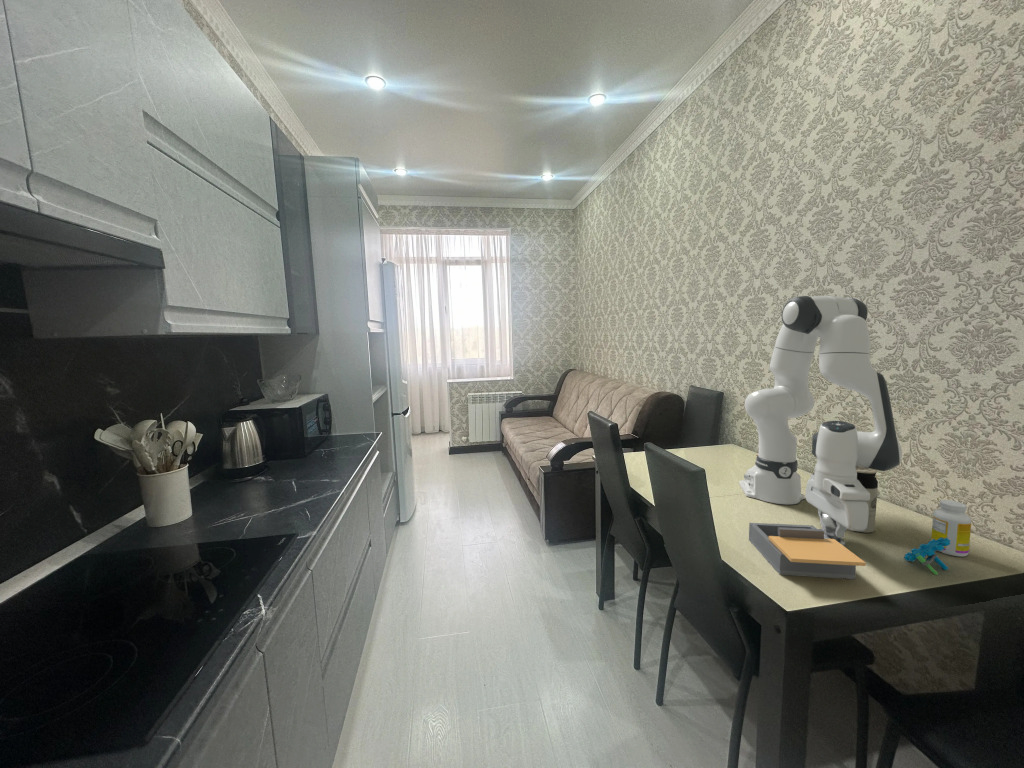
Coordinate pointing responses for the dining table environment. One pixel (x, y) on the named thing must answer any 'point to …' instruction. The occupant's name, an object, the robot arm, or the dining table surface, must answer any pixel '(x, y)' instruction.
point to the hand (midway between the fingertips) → (831, 531)
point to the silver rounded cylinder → (830, 528)
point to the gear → (929, 553)
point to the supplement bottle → (952, 527)
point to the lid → (812, 547)
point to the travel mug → (871, 485)
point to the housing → (783, 564)
